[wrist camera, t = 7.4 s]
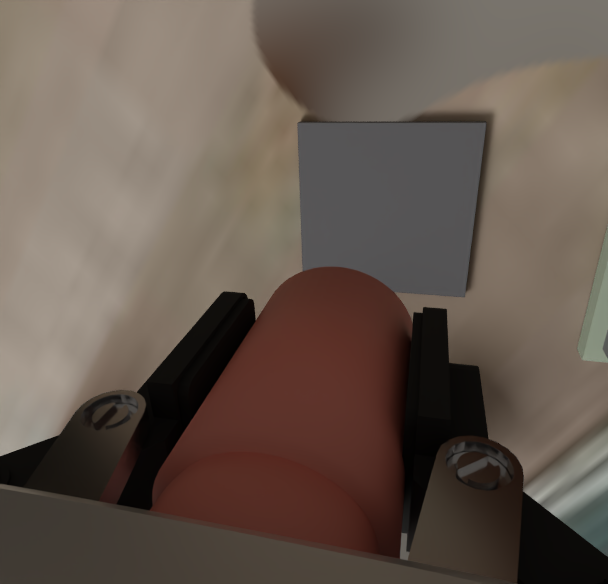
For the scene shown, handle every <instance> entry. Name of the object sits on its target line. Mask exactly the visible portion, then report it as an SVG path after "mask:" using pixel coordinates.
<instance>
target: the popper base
mask: <svg viewBox="0 0 608 584" xmlns="http://www.w3.org/2000/svg"><path fill="white" fill-rule="evenodd" d="M577 350H578V352H579V354H580V356H581V358H582V360H586V361H597V362H607V363H608V226H607V230H606V234H605V238H604V242H603V246H602V250H601V254H600V258H599V262H598V266H597V270H596V274H595V278H594V283H593V287H592V291H591V295H590V299H589V303H588V307H587V311H586V315H585V319H584V323H583V327H582V331H581V335H580V339H579V343H578V347H577Z"/></svg>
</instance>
